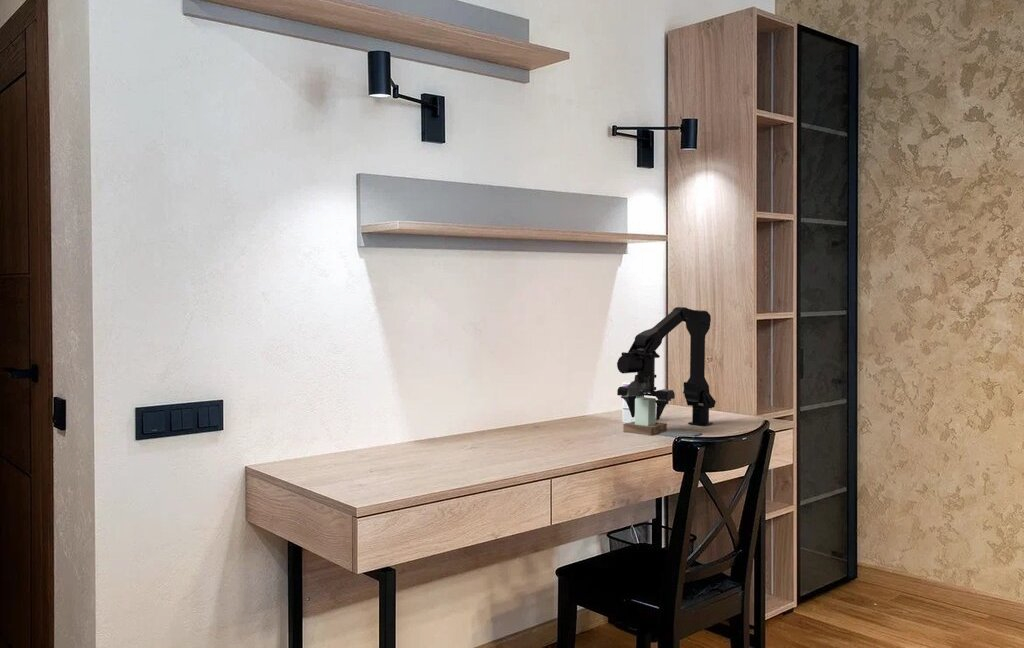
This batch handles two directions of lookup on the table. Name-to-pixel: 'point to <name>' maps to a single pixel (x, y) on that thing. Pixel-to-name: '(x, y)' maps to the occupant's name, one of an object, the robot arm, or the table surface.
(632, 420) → the syrup box
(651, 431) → the pocket block
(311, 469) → the table surface
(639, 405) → the sage block
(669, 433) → the mat
